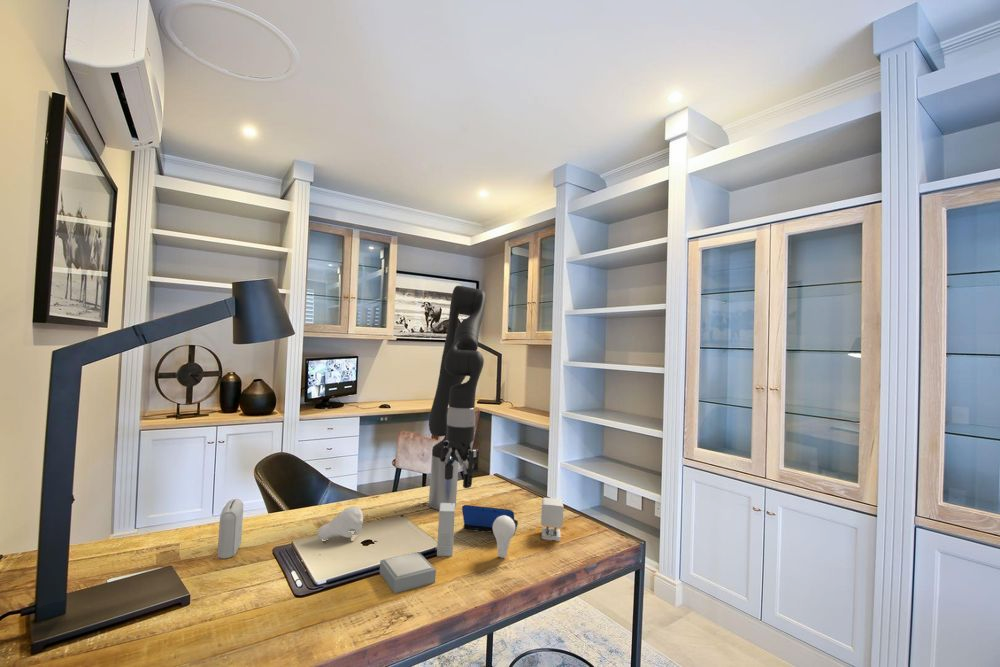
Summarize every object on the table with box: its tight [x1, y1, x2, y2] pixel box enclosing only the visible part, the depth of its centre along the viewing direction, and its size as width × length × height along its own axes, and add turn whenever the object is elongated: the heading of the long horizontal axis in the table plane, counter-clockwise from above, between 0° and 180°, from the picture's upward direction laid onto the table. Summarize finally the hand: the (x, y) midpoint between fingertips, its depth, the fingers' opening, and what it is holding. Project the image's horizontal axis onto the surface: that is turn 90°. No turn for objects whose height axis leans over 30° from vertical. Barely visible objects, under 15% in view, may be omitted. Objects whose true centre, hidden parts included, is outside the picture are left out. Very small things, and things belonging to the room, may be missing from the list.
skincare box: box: [436, 503, 456, 557], centre depth 123 cm, size 6×4×12 cm
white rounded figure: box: [317, 506, 364, 542], centre depth 126 cm, size 6×8×12 cm
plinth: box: [379, 551, 437, 594], centre depth 108 cm, size 10×10×3 cm
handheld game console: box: [461, 504, 519, 535], centre depth 138 cm, size 16×13×9 cm
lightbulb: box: [492, 515, 516, 559], centre depth 121 cm, size 6×6×11 cm
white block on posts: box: [540, 497, 564, 542], centre depth 136 cm, size 6×7×10 cm
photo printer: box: [217, 498, 244, 559], centre depth 116 cm, size 10×4×12 cm, turn 20°
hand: (457, 483), depth 123 cm, fingers open, 8 cm apart
